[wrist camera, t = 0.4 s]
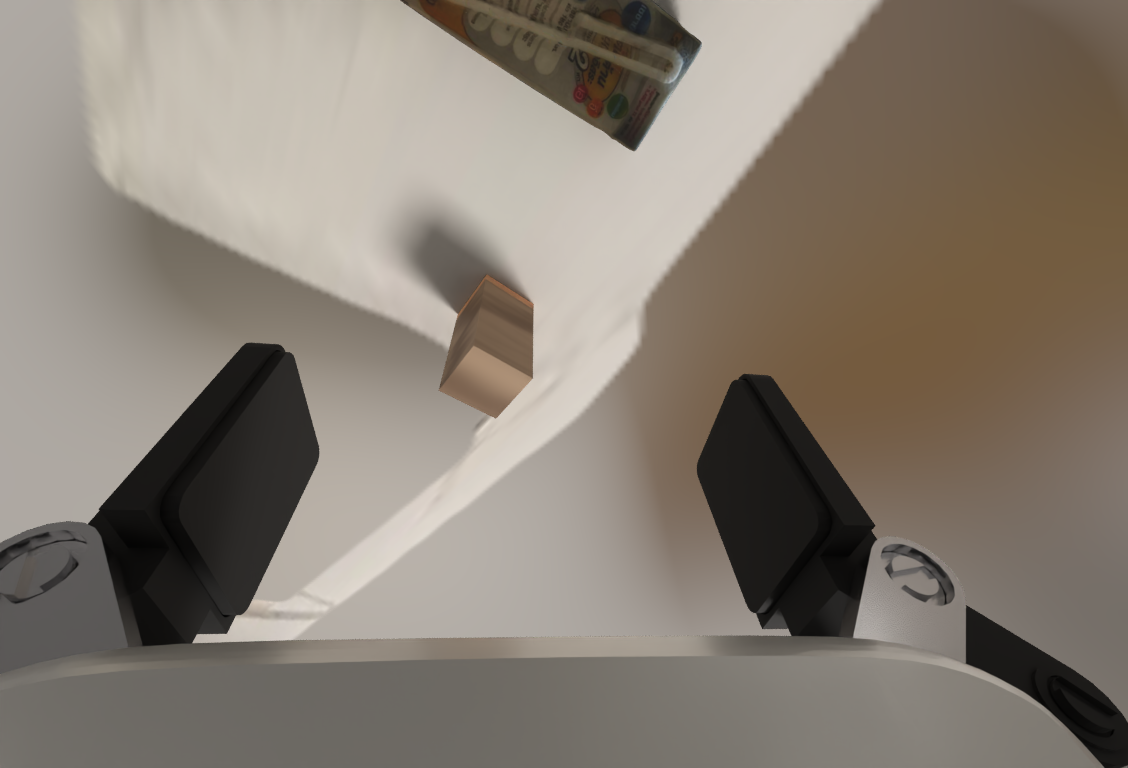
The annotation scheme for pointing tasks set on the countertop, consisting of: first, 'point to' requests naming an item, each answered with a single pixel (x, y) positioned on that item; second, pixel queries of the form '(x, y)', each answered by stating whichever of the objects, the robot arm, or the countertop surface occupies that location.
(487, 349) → the wooden block
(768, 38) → the countertop surface
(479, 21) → the beverage carton
